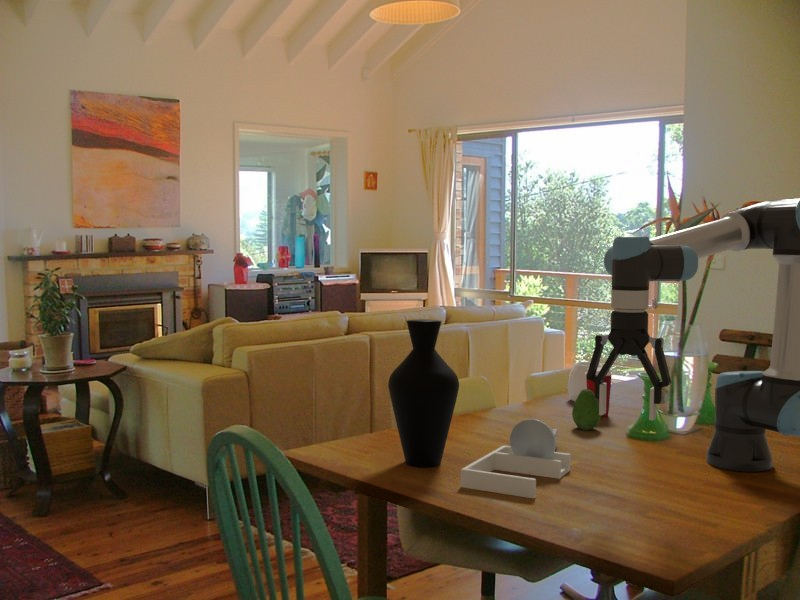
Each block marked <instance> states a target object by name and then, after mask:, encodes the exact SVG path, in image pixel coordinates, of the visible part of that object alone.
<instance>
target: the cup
mask: <svg viewBox="0 0 800 600" xmlns="http://www.w3.org/2000/svg"><path fill="white" fill-rule="evenodd" d="M590 362H591V361H578V362H575V363H574V364H573V366H572V368H571V370H570V372H569V375H568V380H567V381H568V382H567V393H568V395H569V399H570V400H571V401H572V402H573V401H574V402H573V403H575V401H576V399H577V397H578V395H579V393H580V392H581V391H582V390H584V389H587V380H586V374H585V372H586V370H587V369H588V368H589V366H590ZM602 367H603V364H602V363H600V362H599V365H598V368H602Z"/></svg>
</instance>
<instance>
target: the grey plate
mask: <svg viewBox="0 0 800 600" xmlns="http://www.w3.org/2000/svg"><path fill="white" fill-rule="evenodd" d="M512 428H513V429H512V431H511V433H510V435H509V443H510V445H509V446H511V449H512V451H513V453H514V454H515V455H522V456H530V457H537V458H545V459H550V458H551V457H552V456H553V454H554V452H556V447H557V440H556V438H555V436H554V433H553V432H552V430H551V427H550V426H549V425H548V424H547V423H545V422H544V421H542V420H540V419H536V418H527V419H524V420H522V421H520V422H518V423H517V424H516V425H515V426H514V427H512Z"/></svg>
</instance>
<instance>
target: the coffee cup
mask: <svg viewBox="0 0 800 600" xmlns="http://www.w3.org/2000/svg"><path fill="white" fill-rule="evenodd" d="M588 369H589V368H588ZM588 369H587V370H586V372H585V374H586V376H587V372H588ZM600 370H601V368H597V371H596V375H598V373H599V372H600ZM612 376H613V373H612V369H611V368H610V370H609V372H608V373H607V375H606V377H605V378H604V381H603V382H602V383H607V389H606V413H605V414H604V415H601V418H600V419H605V417H606V418H608V417H609V411H610V399H611V387H612ZM586 380H587V389H589V390H591V391H592V392H593V393H594V394H595V383H594V382H593V381H591V380H588V379H587V378H586ZM597 400H598V402H599V399H598V398H597Z"/></svg>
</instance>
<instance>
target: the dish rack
mask: <svg viewBox="0 0 800 600" xmlns="http://www.w3.org/2000/svg"><path fill="white" fill-rule="evenodd" d="M495 470H497V471H501V472H502V471H503V472H509V473H515V474H516V473H517V474H522V475H529V474H530V475H532V476H535V477H536V476H537V477H545V478H552V479H558V480H560V479H562V477H564V476H565V475H567V474H568V473H569V472H570V471H571V453H566V452H559V451H555V452H554V454H553V456H552V457H551V458H550V459H545V458H537V457H530V456H522V455H515V454H514V453H513V451H512V449H511V445H502V446H500V447H498V448H496V449H494V450H493V451H491V452H489V453H487V454H486V455H484V456H482V457H480V458H478V459H477V460H475V461H473V462H471V463H470V464H468V465H466V466H465V467H462V468H461V469H460V488H463V489H469V490H477V491H483V492H490V493H497V494H503V495H508V496H515V497H521V498H522V497H523V498H528V499H536V498H537V479H536V478H533V477H525V476H520V475H511V474H507V473H506V474H504V473H499V472H498V473H497V472H493V471H495Z"/></svg>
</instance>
